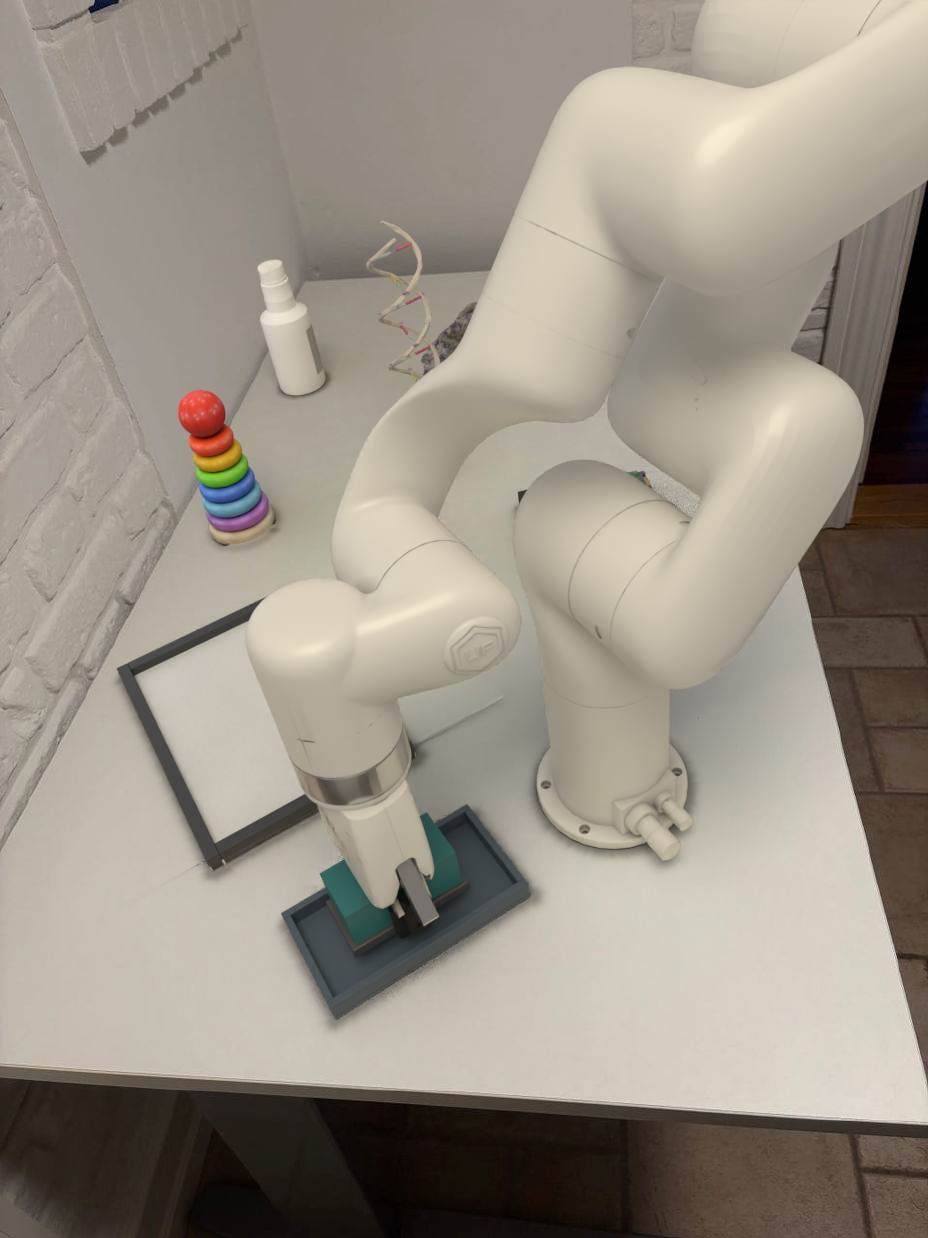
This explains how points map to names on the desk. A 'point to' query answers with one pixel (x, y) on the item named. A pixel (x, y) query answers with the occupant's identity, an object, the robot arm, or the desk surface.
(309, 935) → the tray
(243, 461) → the stacking toy
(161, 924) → the desk surface
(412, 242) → the dna model
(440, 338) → the mineral rock
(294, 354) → the spray bottle
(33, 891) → the desk surface
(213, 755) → the whiteboard
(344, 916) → the eraser
